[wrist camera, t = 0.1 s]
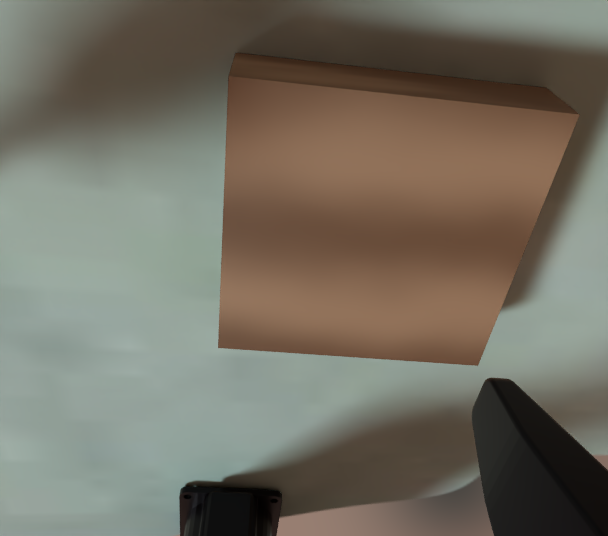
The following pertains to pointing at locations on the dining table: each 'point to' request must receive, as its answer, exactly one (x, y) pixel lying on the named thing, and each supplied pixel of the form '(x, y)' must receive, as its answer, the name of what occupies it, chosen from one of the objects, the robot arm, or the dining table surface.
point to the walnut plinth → (378, 207)
